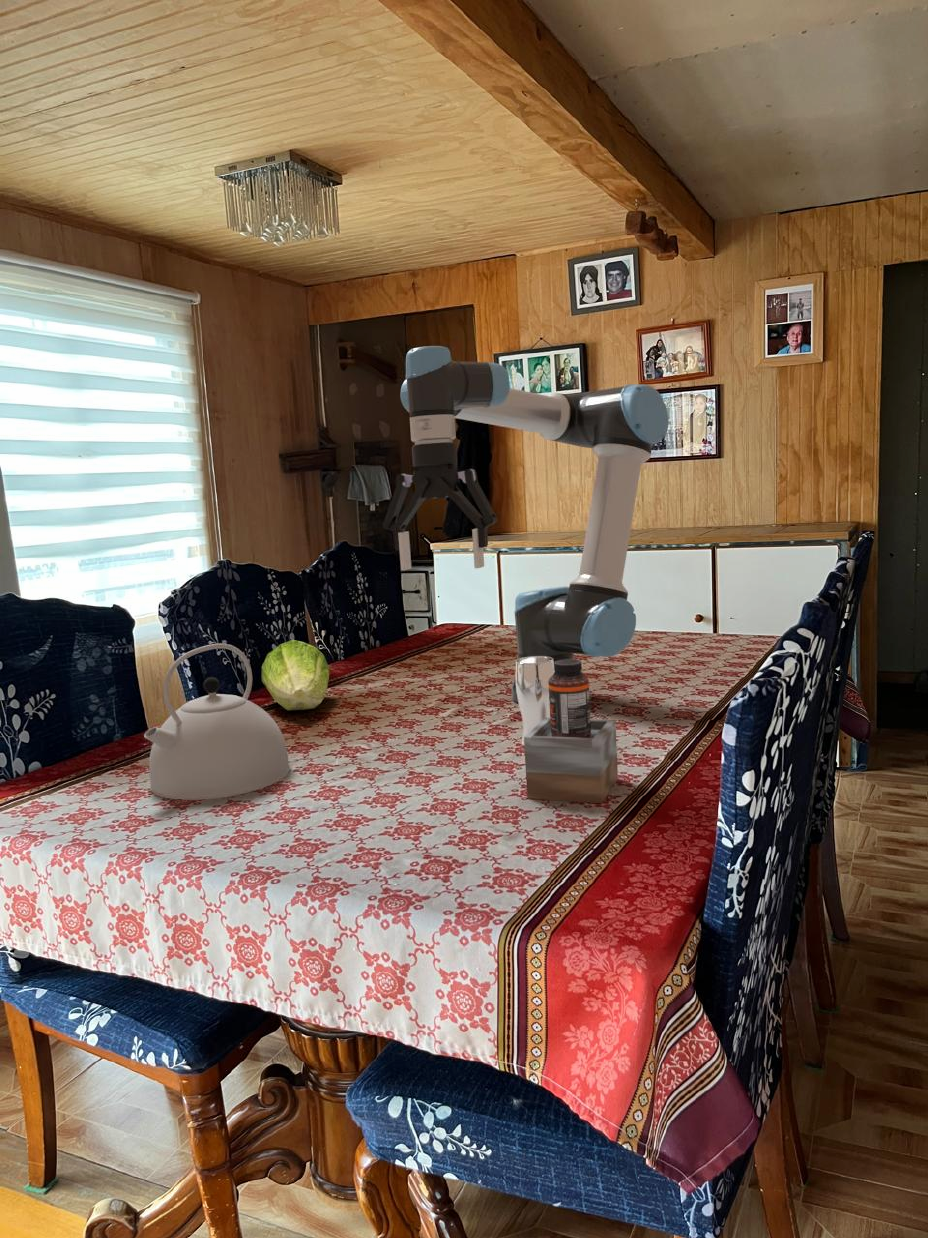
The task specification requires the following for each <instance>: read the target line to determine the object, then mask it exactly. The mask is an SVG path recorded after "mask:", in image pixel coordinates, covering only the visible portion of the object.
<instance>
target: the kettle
mask: <svg viewBox="0 0 928 1238" xmlns="http://www.w3.org/2000/svg"><path fill="white" fill-rule="evenodd" d="M216 649H217V650H218V649H225V650H230V651H232V652H233V653H235V654H237V655H238V656H239V657H240V659H241V660H242V662H243V664H244V667H245V669H246V674H247V677H246V678H247V682H246V688H245V692H244V694H243V696H238V695H234V694H224V693H222V694H221V693H217V691H219V689H220V681H219V680H218V678H216V677H214V676H213V677H212V676H211V677H207V678H205V680H204V682H203V684H202V686H203V690H205V692H207V693H208V695H204V696H200V697H197V698H195V699H192V700H189V701H187V702H186V703H184V704H183V705H181V706H180V707H178V709H176V710H175V708H174V707H173V704H172V702H171V697H170V691H169V690H170V683H171V679H172V675H173V673H174V672H175V670H176V669H177V668H178V666H179V665H180V664H181V663H183V662H184V661H185V660H187V659H188V658H190V657H192V656H195V655H196V654H199V653H203V652H207V651H210V650H216ZM168 668H169V669H168V670H167V673H166V675H165V678H164V683H163V699H164V704H165V705H166V708H167V710H168V712H169V714H170V715H169V717H168V718H167V719H166V720H165V721H164V722H163V724H162V725H161V727H156V726H154V727H150V728H149V729H148V730H146V732H145V733H144V734H143V736H144V739H146V740H148V741H150V742H151V743H152V746H151V750H150V753H149V761H148V763H149V767H148V768H149V781H150V782H149V784H150V786H149V788H150V790H151V792H152V793H153V794H154V795H156V796H158V797H162V798H164V797H165V799H169V798H170V799H171V800H177V799H182V800H181V801H199V800H203V799H204V800H213V799H220V798H228V796H229V797H232V796H239V795H243V794H247V793H252V792H255V791H258V790H261V789H264V788H266V787H269V786H271V785H274V784H276V783H277V782H280V781H281V780H283V779H284V778H286V776H287V775H288V774H289V773H290V764H289V756H288V749H287V745H286V741H285V738H284V736H283V733H282V730H281V729H280V727H279V725H278V724H277V723H276V721H275V720H274V719H273V717H272V716H271V715H270V714H269V713H268V712H267V711H265V710H264V708H262V707H261V706H259V705H257V703H254V702H252V701H250V700H248V699H249V697H250V693H251V690H252V686H253V673H252V668H251V664H250V662H249V660H248V658H247V655H245V653H244V652H242V650H240V649H239V648H237V647H236V646H234V645H232V644H227V643H213V644H207V645H203V646H200V647H197V648H194V649H192V650H190V651H187V652H186V653H184V654H182V655H180V656H179V657H178V658H177V659H176V660H175V661H174V662H173V663H172V664H171V665H170V667H168Z"/></svg>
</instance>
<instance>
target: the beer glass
mask: <svg viewBox="0 0 928 1238" xmlns="http://www.w3.org/2000/svg"><path fill="white" fill-rule="evenodd" d="M554 672H555V671H554V662H553V658H552V657H548V656H529V657H523V658H519V659H518V658H517V659H516V660H515V674H516V692H517V698H518V702H519V703H518V706H519V710H520V714H521V718H522V727H523V728H522V738H521V745H522V746H524V737H525V736H526V735H527V734H528V733H529V732H530V731H531V730H532V729H533V728H535V727H536V726H537V725H538V724H539V723H540V722H541V721H542V720H543V719H544V718H550V706H549V686H548V681H549V678H550V677H551V676H553V674H554Z"/></svg>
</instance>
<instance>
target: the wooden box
mask: <svg viewBox="0 0 928 1238" xmlns="http://www.w3.org/2000/svg"><path fill="white" fill-rule="evenodd" d="M616 725H617V724H616V720H615V719H599V718H597V719H592V718H591V734H590V735H589V736H588V737H586V738H577V737H553V736H552V735H551V726H550V718H544V719H543V720H542V721H541V722H540V723H539V724H538V725H537V726H536V727H535V728H533V729H532V730H531V731H530V732H529V733H528V734H527V735H526V736H525V737H524V763H525V764H524V765H525V766H524V767H525V776H526V777H525V781H526V782H525V783H526V798H527V799H529V800H532V799H534V800H547V801H549V800H550V801H562V802H563V801H564V802H575V803H590V804H591V803H592V804H602V803H603V802H604V801H605V799H606V797H607V796H608V794H609V793H610V792H611V790H612V789H613V787H614V785H615V784H616V782H617V781H618V780H619V774H618V773H619V772H618V771H619V770H618V751H617V750H618V749H617V746H618V745H617V726H616Z"/></svg>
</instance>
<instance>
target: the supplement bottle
mask: <svg viewBox="0 0 928 1238" xmlns="http://www.w3.org/2000/svg"><path fill="white" fill-rule="evenodd" d="M582 670H583V667H582V661H581V660H580V659H576V658H575V659H563V660H557V661H555V662H554V671H555V672H554V674H553V676H551V677H550V678H549V681H548V686H549V706H550V726H551V735H552V736H553V737H577V738H586V737H588V736H589V735H590V734H591V719H592V718H591V696H590V695H591V694H590V681H589V678H588V676H587V674H584V673H583V672H582Z"/></svg>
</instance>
